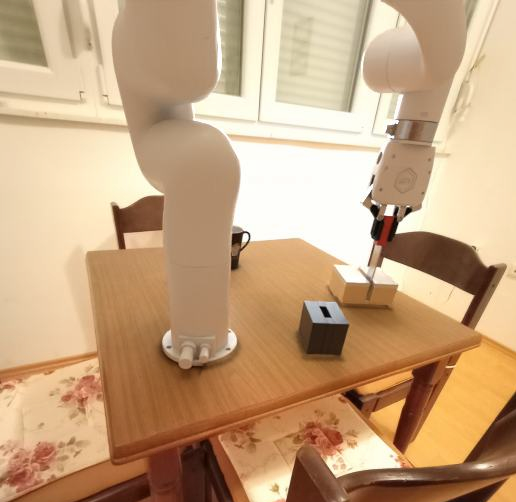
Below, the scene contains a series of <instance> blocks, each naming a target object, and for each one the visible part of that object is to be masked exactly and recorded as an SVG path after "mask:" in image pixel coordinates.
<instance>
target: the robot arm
mask: <svg viewBox="0 0 516 502" xmlns="http://www.w3.org/2000/svg"><path fill="white" fill-rule="evenodd" d="M124 1H125V4H124V5H123V6H122V7H121V9H120V10H119V12H118V13H117V15H116V18H115V20H114V23H113V25H112V31H111V32H112V33H111V53H112V54H111V56H112V63H113V70H114V75H115V80H116V83H117V88H118V91H119V96H120V100H121V104H122V109H123V112H124V116H125V120H126V124H127V128H128V133H129V136H130V140H131V145H132V149H133V153H134V157H135V159H136V162H137V165H138V167H139V170H140V172H141V174H142V176H143V178H144V179H145V180H146V182H147V183H148V184H149V185H150V186H151V187H152V188H154V189H155V190H156V191H157V192H159V193H160V194H162V195H163V211H162V227H161V230H162V233H161V234H162V249H163V251H162V252H163V258H164V271H165V280H166V293H167V304H168V305H167V306H168V315H169V326H170V327H169V330H167V331H166V332H165V334H164V335H163V337H162V340H161V346H162V351H163V352H164V355H166V357H168V358H169V359H171V360H172V361H174V362H176V363H177V364H178V366H179V367H180V368H181V369H182V370H188V369H189V370H190V369H191V368H192V366H193V367H203V366H204V364H206V363H210V362H215V361H219V360H221V359H223V358H226V357H227V356H229V355H231V354H232V353H233V352H234V350H235V349H236V348H237V345H238V337H237V335H236V334H235V332H234V331H233V330H232V329H231V328H230V327H229V326H230V301H231V300H230V299H231V275H232V274H231V272H232V270H231V241H232V228H233V225H234V218H235V213H236V209H237V208H236V207H237V203H238V198H239V195H240V194H239V193H240V188H241V180H242V179H241V178H242V170H241V161H240V157H239V155H238V152H237V149H236V146H235V144H234V143H233V141H232V140H231V138H230V137H229V136H228V135H227V134H226V133H225V132H224V131H223V130H222V129H220V127H217V126H216V125H214V124H213V123H210V122H207V121H205V120H201V119H196V117H195V110H194V104H195V103H199V102H201V101H203V100H206V99H207V98H208V97H209V96H210V95H211V94H212V93H213V92H214V91H215V89H216V87H217V86H218V83H219V80H220V77H221V72H222V47H221V34H220V23H219V12H218V0H124ZM377 2H381V3H383V4H385V5H387V6H388V7H390V8H391V9H393V10H394V11H396V12H397V13H398V14H400V16H401V17H402V18H403V19H404V20H405V21H406V22H407V23H408V24H406V25H402V26H397V27H393V28H389V29H386V30H383V31H382V32H380V33H378V34H377V35H376V36H375V37H373V38H372V40H371V41H370V42H369V43H368V45H367V47H366V48H365V50H364V52H363V55H362V58H361V59H362V60H361V68H360V69H361V70H360V71H361V77H362V79H363V82H364V84H365V85H366V87H367V88H368V89H370V90H371V91H373V92H374V93H377V94H399V96H398V100H397V105H396V109H395V112H394V117H393V119H392V120H391V122H390V123H389V124H387V123H386V124H385V125H383V129H382V133H383V134H386V135H387V141H384V142H383V144H382V146H381V148H380V150H379V153H378V155H377V157H376V160H375V163H374V165H373V169H372V172H371V175H370V178H369V182H368V185H367V188H366V192H365V194H364V196H363V197H362V198H361V200H360V205H361V206H363V207H365V208H366V209H368V210H369V212H370V213H371V215H372V218H373V221H372V225H371V228H370V233H369V235H370V238H371V239H372V240H373V241H374V240H375V241H379V240H380V237H381V234H382V230H383V227H384V223H385V222H384V221H383V218H384V214H386V210H387V207H388V206H393V210H392V213H391V215H393V216H395V217H394V220H393V223H392V227H391V230H390V233H389V236H388V240H387V243H392V242H393V239H394V237H395V236H396V234H397V230H398V228H399V224H400V223H401V222H403V220H404V218H406V217H407V216H409V215H410V214H411V213H415V212H418V211H420V210H421V209H422V207H423V206H422V205H423V202H424V200H425V197H426V194H427V191H428V187H429V185H430V181H431V176H432V173H433V168H434V162H435V158H436V151H437V150H436V148H437V146H432V145H433V142H434V139H435V136H436V133H437V130H438V127H439V124H440V122H441V119H442V114H443V112H444V109H445V106H446V103H447V100H448V97H449V95H450V91H451V89H452V86H453V81H454V79H455V75H456V73H457V72H458V70H459V69H460V66H461V64H462V62H463V59H464V55H465V51H466V47H467V37H468V29H467V27H468V24H467V16H466V15H467V14H466V7H465V5H466V4H465V0H377ZM372 201H374V202H375V204H374V203H373V202H372Z"/></svg>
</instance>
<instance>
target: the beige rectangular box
mask: <svg viewBox="0 0 516 502" xmlns="http://www.w3.org/2000/svg"><path fill="white" fill-rule="evenodd" d="M368 269H369V266H363V265H359V266H358V268H357V267H356V266H355V265H348V264H347V265H346V264H333V265H332V270H331V274H330V278H329V282H328V289H329V291H330V292H331V294H332V295H333V297H337V298H338V300H339V302H340V303H341V304H358V305H377V306H387V307H388V308H389V309H391V308H392V305H393V302H394V300H395V296H396V294H397V291H398V288H399V283H397V282H396V281H395V279H393V278H392V277H391V276H390V275H388V274H387V272H386V271H384V270H383V269H382V268H381V267H379V266H377V267H376V270H375V274H374V277H373V280H372V284H371V287H369V285H370V283H369V281H368V280H367V279H366V276H367V272H368Z"/></svg>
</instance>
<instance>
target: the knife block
mask: <svg viewBox="0 0 516 502" xmlns="http://www.w3.org/2000/svg"><path fill="white" fill-rule="evenodd" d="M349 327H350V322H349V321H348V320H347V318H346V317H345V315H344V313H343V311H342V309H341V307H340V306H339V304H338V303H337V301H317V300H315V301H314V300H303V303H302V309H301V314H300V320H299V326H298V332H299V335H300V338H301V341H302V345H303V347H304V350H305V353H306V355H332V356H341V355H342V352H343V349H344V344H345V342H346V339H347V335H348V331H349Z"/></svg>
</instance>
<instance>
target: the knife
mask: <svg viewBox="0 0 516 502" xmlns="http://www.w3.org/2000/svg"><path fill="white" fill-rule="evenodd" d="M394 217H395V216H393V215H392V213H385V214H384V218H383V221H384V222H385V223H384V227H383V230H382V234H381V237H380V240H379V241H375V240H374V239H373V244H374V249H373V252H372V255H371V258H370V262H369V265H368V267H369V269H368V272H367V276H366V279H367V280H368V281H369V283H370V285H369V287H371V284H372V280H373V277H374V274H375V270H376V267H378V263H379V260H380V257H381V254H382V250H383V247H386V246H387V243H388V241H387V240H388V236H389V233H390V230H391V227H392V223H393V220H394Z"/></svg>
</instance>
